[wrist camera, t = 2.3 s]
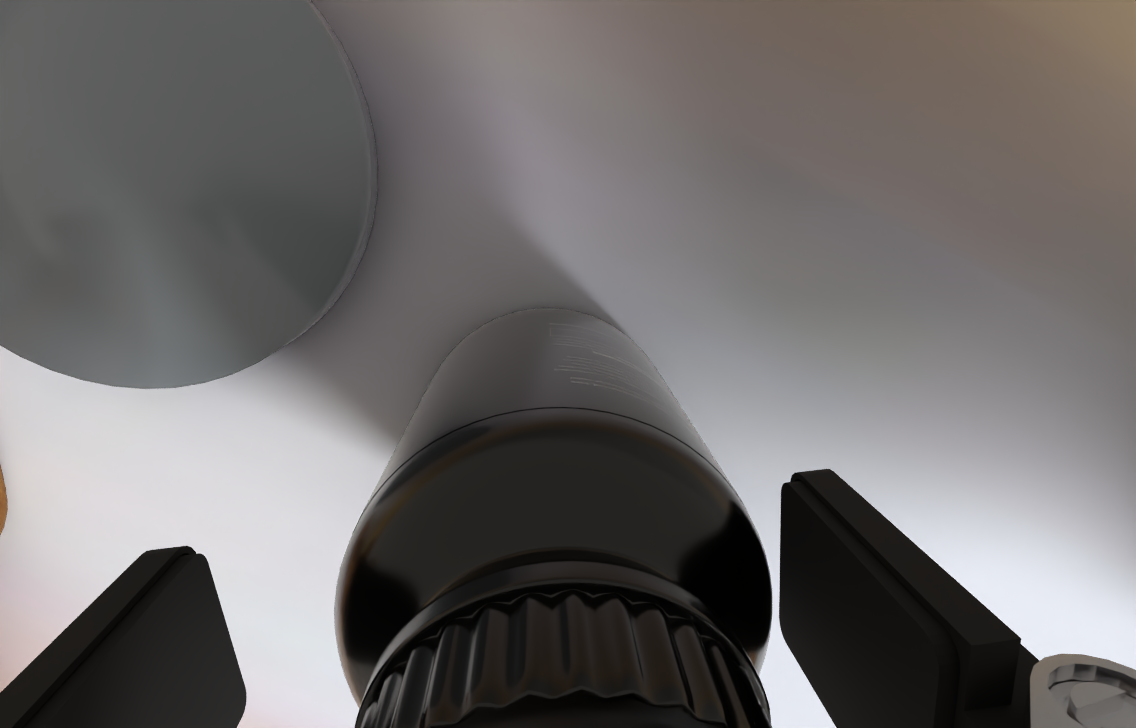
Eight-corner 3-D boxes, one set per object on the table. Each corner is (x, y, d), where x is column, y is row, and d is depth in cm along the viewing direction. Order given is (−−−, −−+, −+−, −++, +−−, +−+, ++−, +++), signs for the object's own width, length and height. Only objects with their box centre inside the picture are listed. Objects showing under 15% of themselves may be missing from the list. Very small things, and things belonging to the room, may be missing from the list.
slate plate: (331, -126, 13) (306, -164, 12) (409, 350, 16) (398, 366, 15) (-177, -87, 13) (-264, -121, 12) (-2, 390, 16) (-55, 410, 15)
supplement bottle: (378, 378, 17) (27, 794, 5) (596, 258, 16) (750, 422, 5) (503, 565, 19) (452, 1182, 7) (704, 462, 18) (1010, 949, 6)
